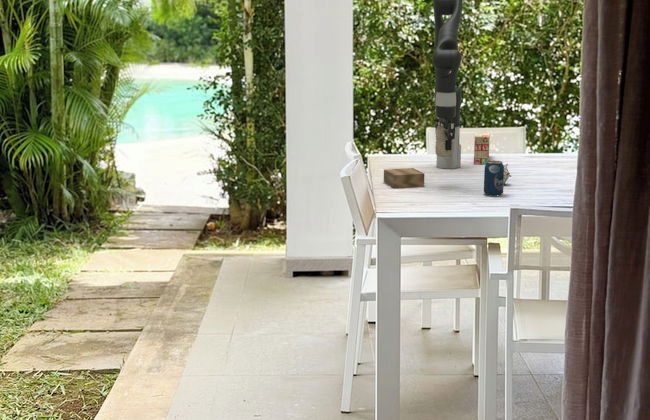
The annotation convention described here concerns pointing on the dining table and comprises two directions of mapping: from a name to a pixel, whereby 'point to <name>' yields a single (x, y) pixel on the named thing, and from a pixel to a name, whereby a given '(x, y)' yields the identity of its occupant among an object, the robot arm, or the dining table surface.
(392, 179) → the walnut block
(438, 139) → the carving
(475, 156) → the cardboard product box
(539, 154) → the dining table surface
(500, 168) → the soda can
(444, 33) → the robot arm
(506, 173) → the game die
